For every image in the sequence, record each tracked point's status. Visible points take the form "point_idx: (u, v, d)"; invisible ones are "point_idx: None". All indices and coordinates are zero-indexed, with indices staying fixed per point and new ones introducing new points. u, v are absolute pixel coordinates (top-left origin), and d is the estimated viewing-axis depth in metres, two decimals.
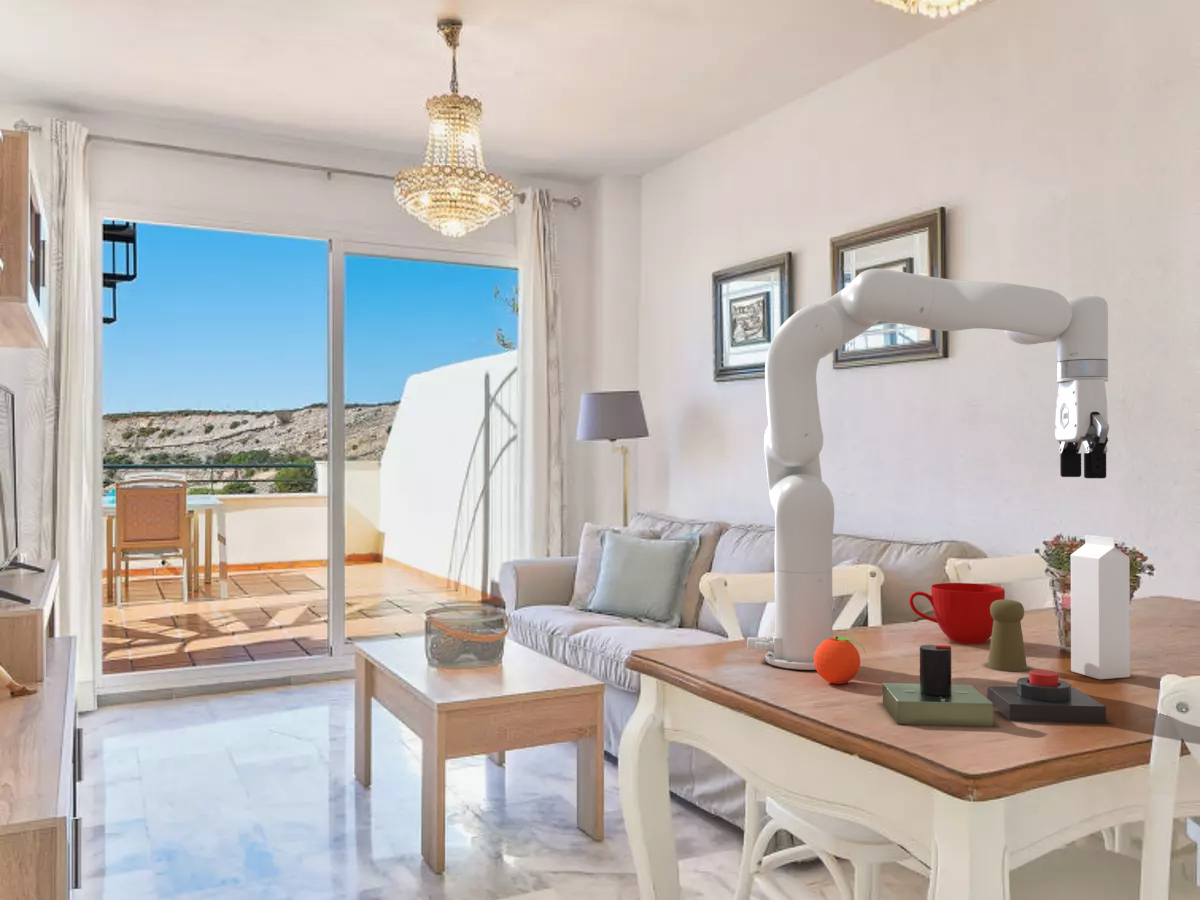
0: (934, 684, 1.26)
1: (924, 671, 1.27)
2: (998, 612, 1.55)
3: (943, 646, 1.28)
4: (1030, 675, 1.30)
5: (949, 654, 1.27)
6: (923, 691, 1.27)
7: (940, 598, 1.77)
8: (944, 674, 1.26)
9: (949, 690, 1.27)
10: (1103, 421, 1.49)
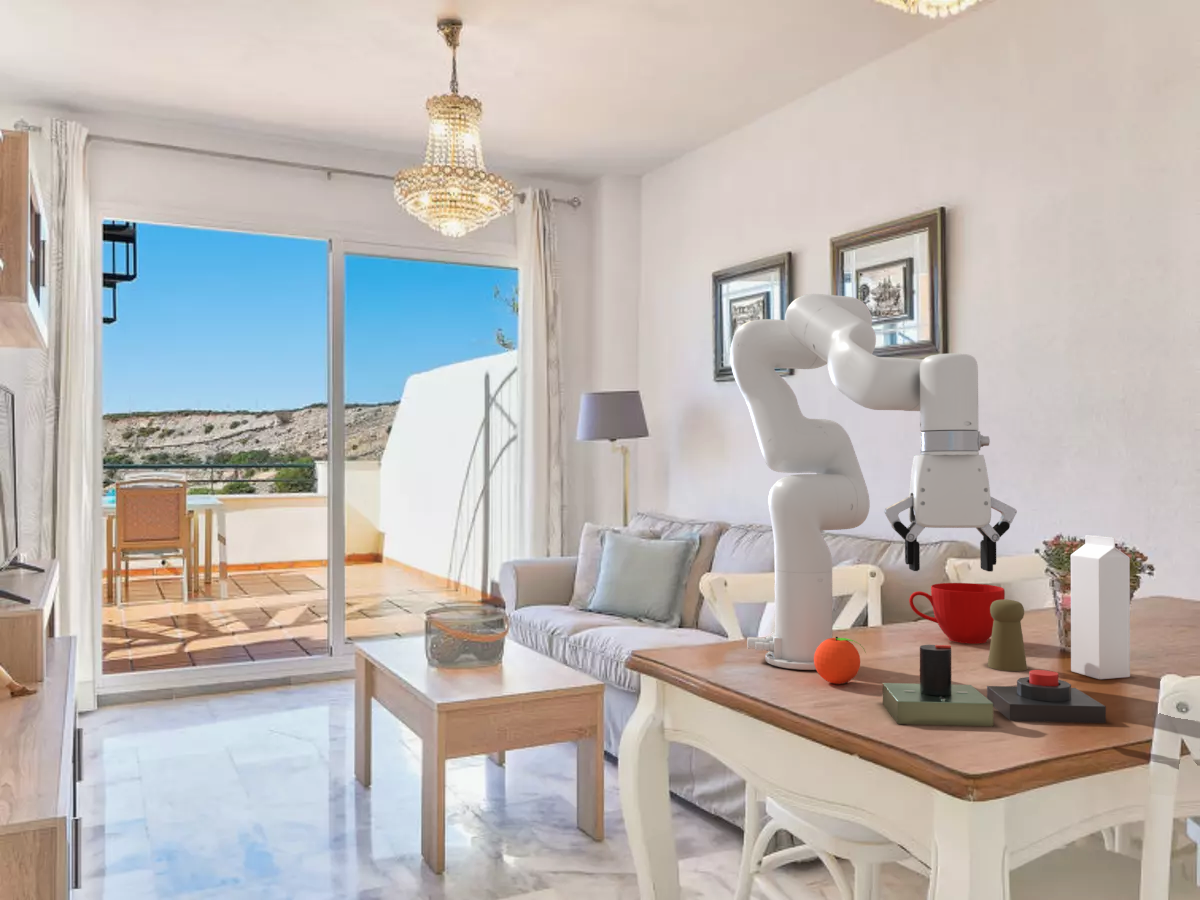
0: (934, 684, 1.26)
1: (924, 671, 1.27)
2: (998, 612, 1.55)
3: (943, 646, 1.28)
4: (1030, 675, 1.30)
5: (949, 654, 1.27)
6: (923, 691, 1.27)
7: (940, 598, 1.77)
8: (944, 674, 1.26)
9: (949, 690, 1.27)
10: (893, 505, 1.31)
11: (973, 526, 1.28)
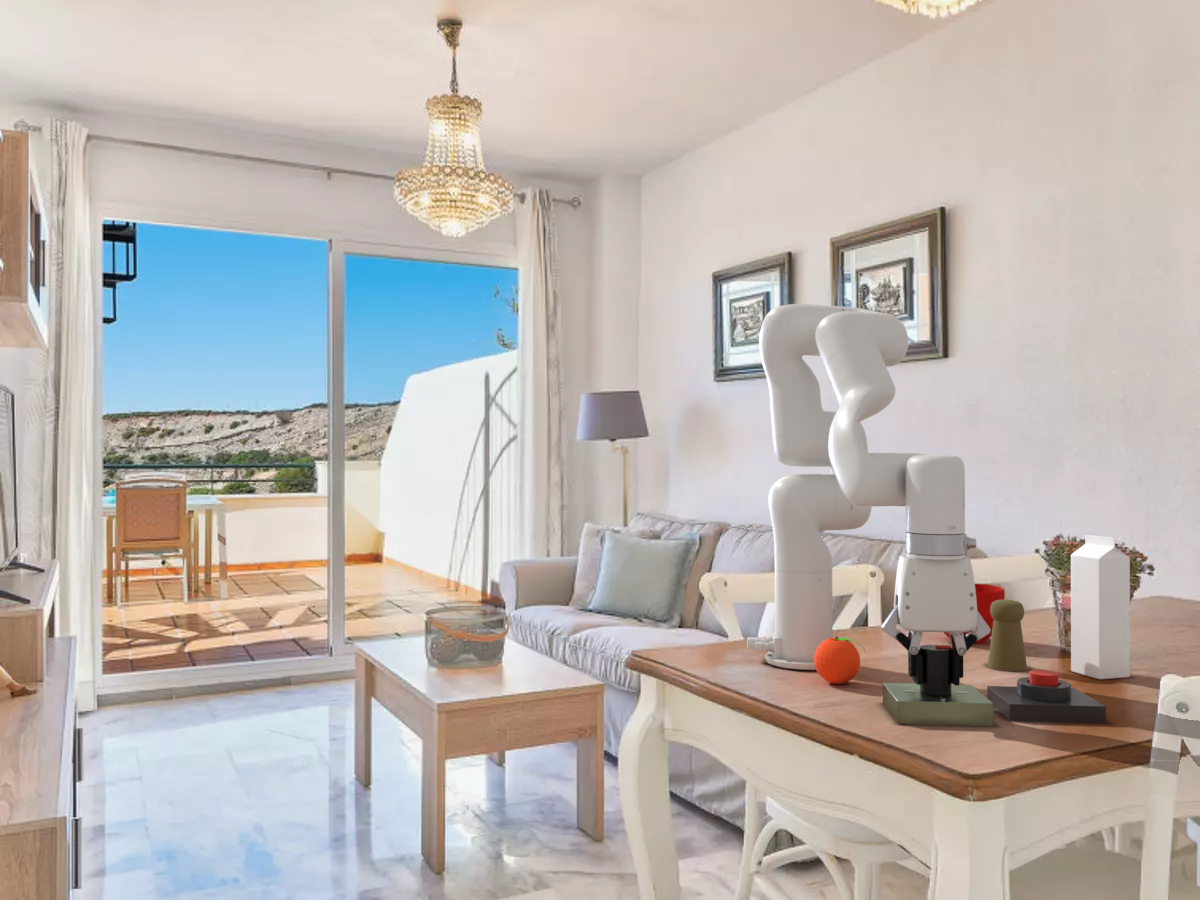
0: (934, 684, 1.26)
1: (924, 671, 1.27)
2: (998, 612, 1.55)
3: (943, 646, 1.28)
4: (1030, 675, 1.30)
5: (949, 654, 1.27)
6: (923, 691, 1.27)
7: None
8: (944, 674, 1.26)
9: (949, 690, 1.27)
10: (887, 620, 1.28)
11: (958, 631, 1.26)
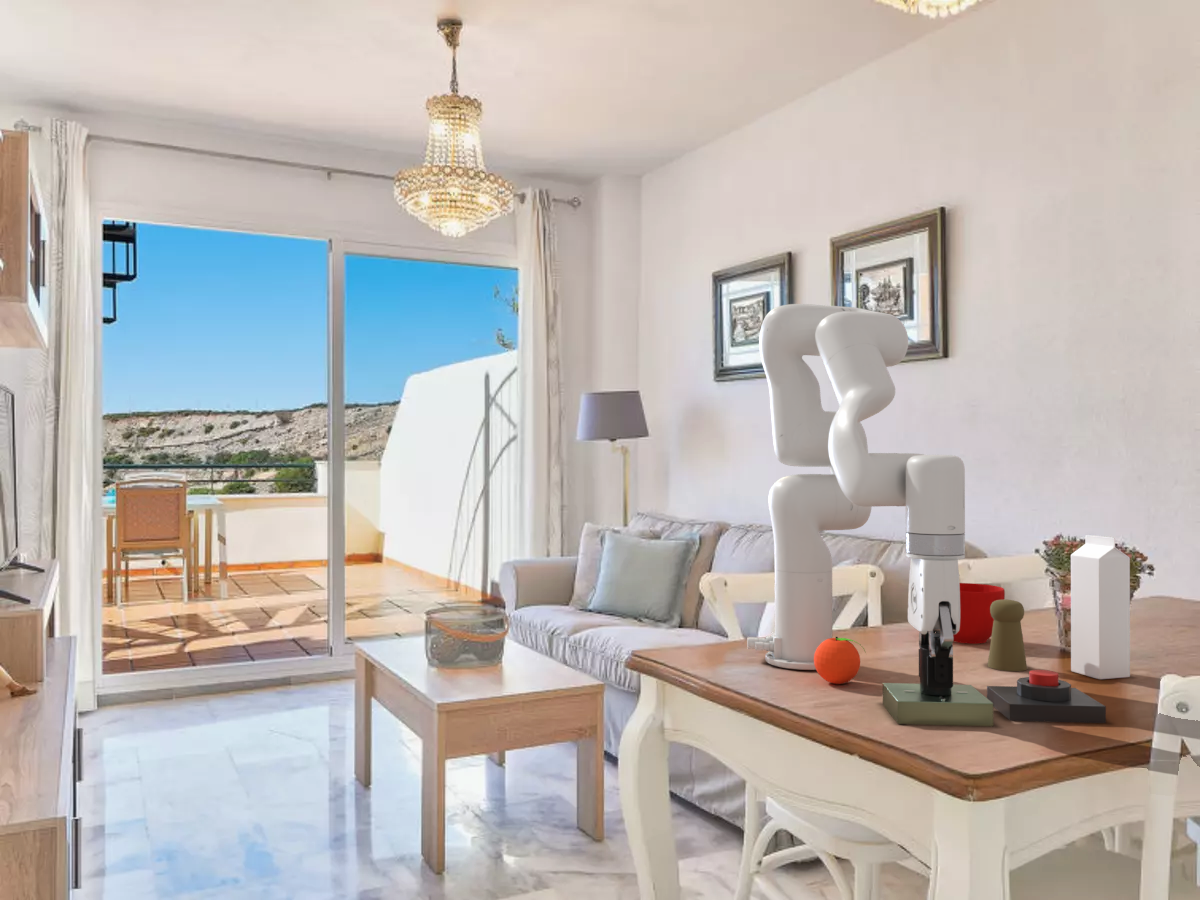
0: None
1: None
2: (998, 612, 1.55)
3: None
4: (1030, 675, 1.30)
5: None
6: (945, 693, 1.26)
7: None
8: None
9: None
10: (949, 629, 1.22)
11: None
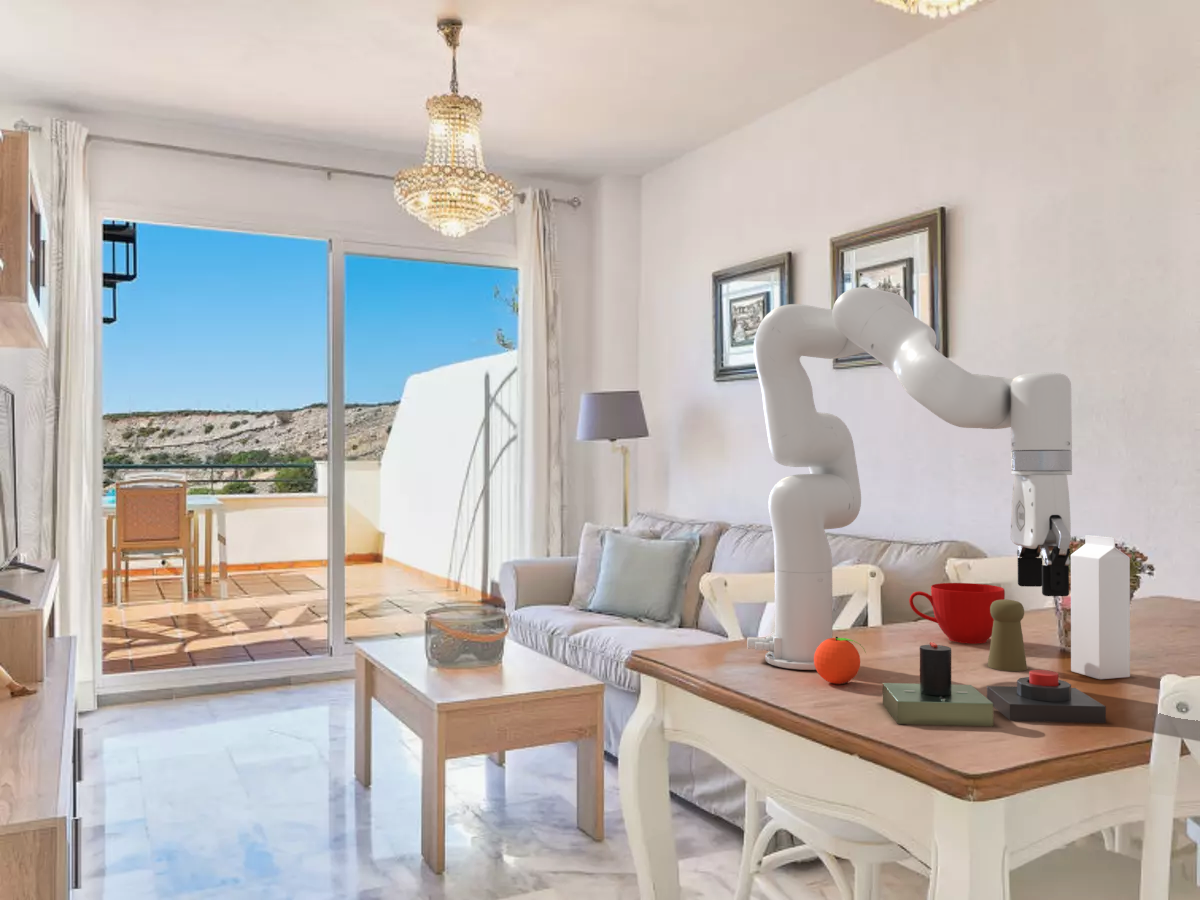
0: None
1: (947, 673, 1.26)
2: (998, 612, 1.55)
3: None
4: (1030, 675, 1.30)
5: None
6: (945, 693, 1.26)
7: (940, 598, 1.77)
8: None
9: None
10: (1064, 529, 1.22)
11: None
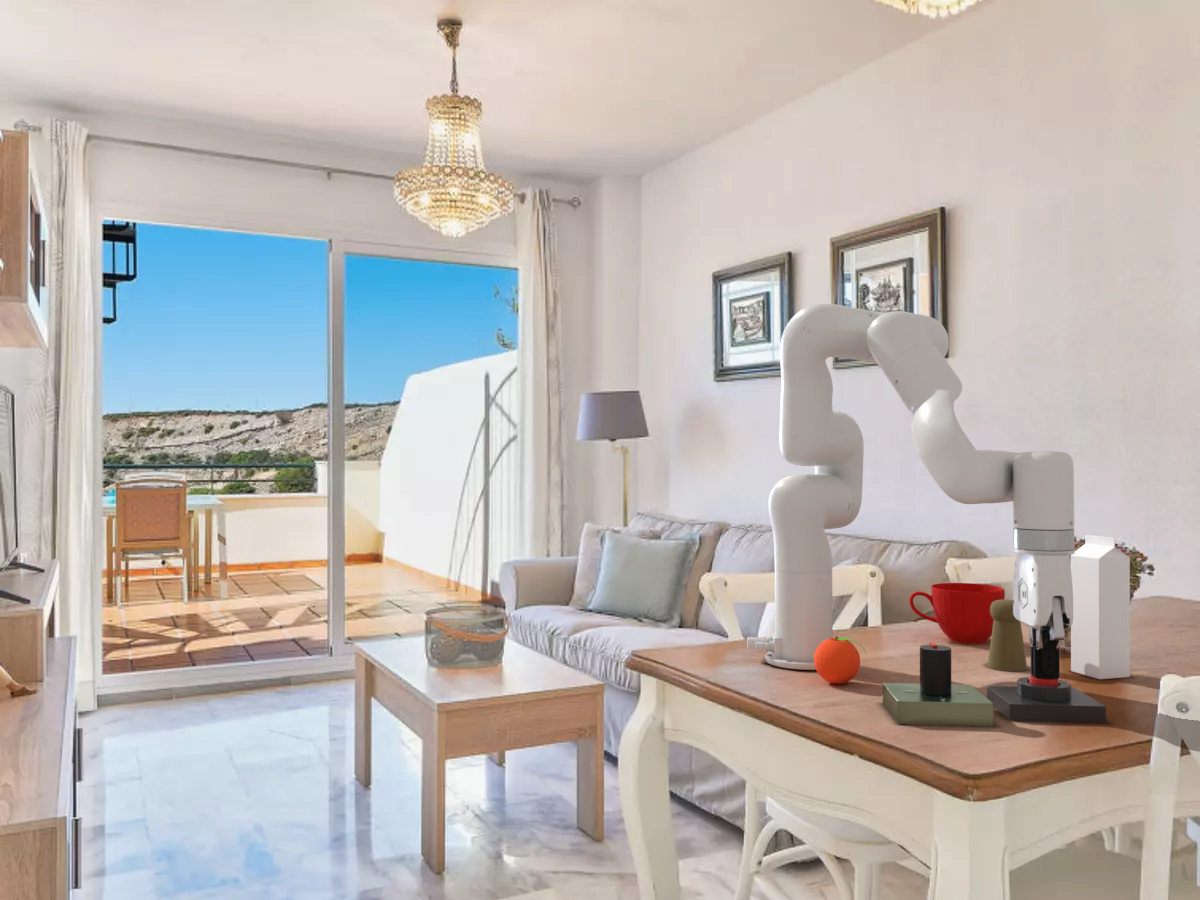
0: None
1: (947, 673, 1.26)
2: (998, 612, 1.55)
3: None
4: (1030, 680, 1.30)
5: None
6: (945, 693, 1.26)
7: (940, 598, 1.77)
8: None
9: None
10: (1060, 627, 1.24)
11: None
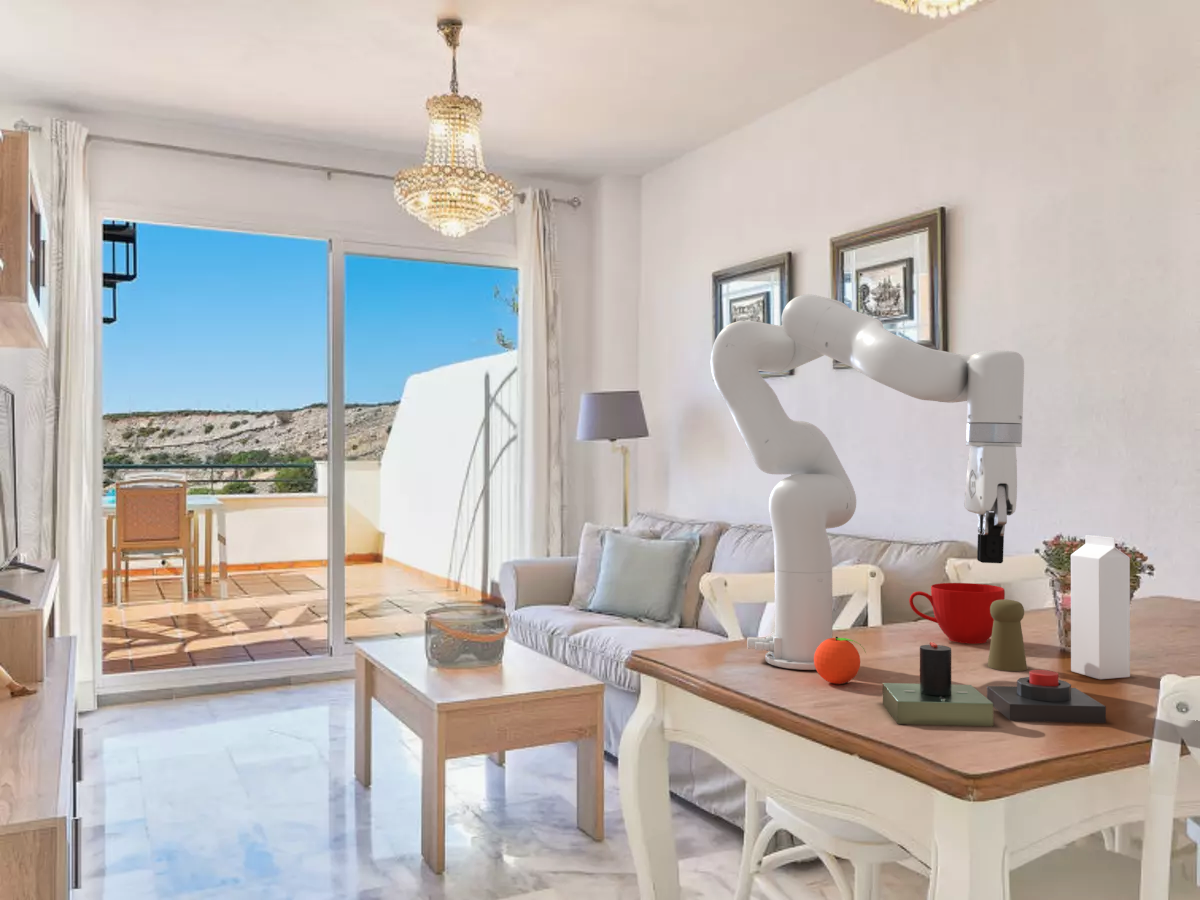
0: None
1: (947, 673, 1.26)
2: (998, 612, 1.55)
3: None
4: (1030, 675, 1.30)
5: None
6: (945, 693, 1.26)
7: (940, 598, 1.77)
8: None
9: None
10: (1003, 513, 1.34)
11: None
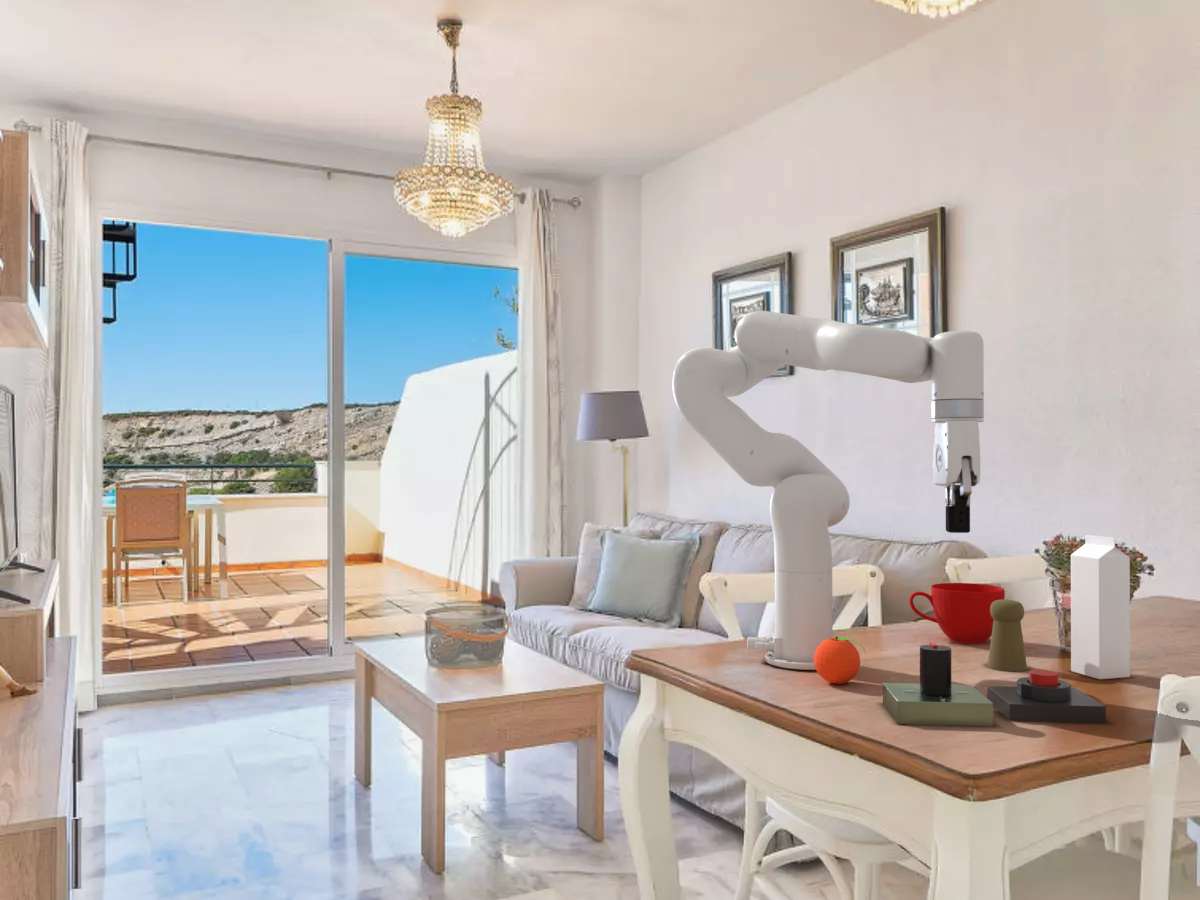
0: None
1: (947, 673, 1.26)
2: (998, 612, 1.55)
3: None
4: (1030, 675, 1.30)
5: None
6: (945, 693, 1.26)
7: (940, 598, 1.77)
8: None
9: None
10: (968, 483, 1.41)
11: None
